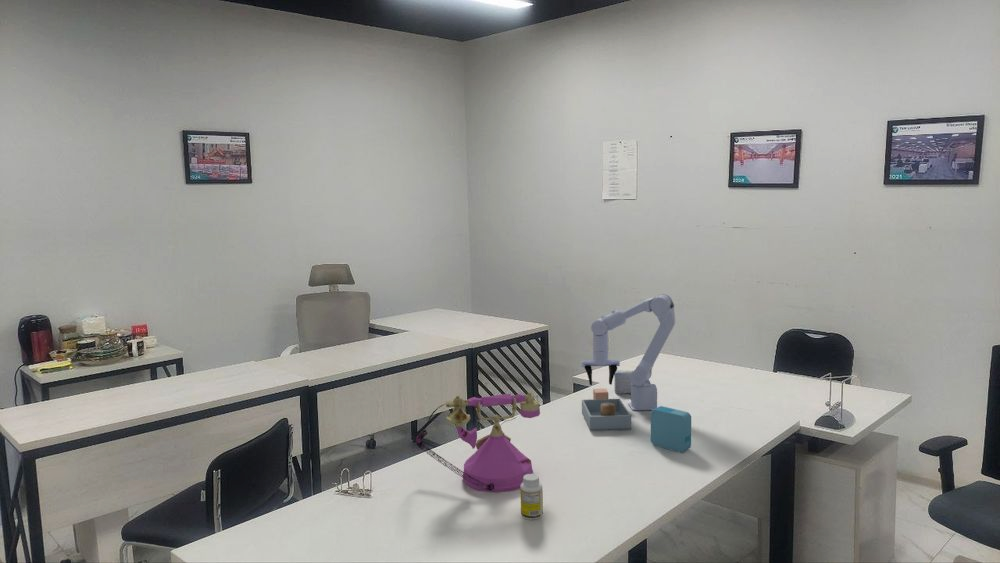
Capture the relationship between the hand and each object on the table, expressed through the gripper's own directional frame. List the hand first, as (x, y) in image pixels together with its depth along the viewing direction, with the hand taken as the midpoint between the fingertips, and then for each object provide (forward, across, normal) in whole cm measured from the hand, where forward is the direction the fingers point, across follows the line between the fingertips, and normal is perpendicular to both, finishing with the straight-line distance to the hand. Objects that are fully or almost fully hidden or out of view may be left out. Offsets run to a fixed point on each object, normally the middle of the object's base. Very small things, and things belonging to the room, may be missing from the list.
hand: (600, 384), depth 249 cm
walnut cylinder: (+7, +2, +26) cm, 27 cm away
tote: (+7, +2, +21) cm, 22 cm away
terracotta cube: (+8, 0, 0) cm, 8 cm away
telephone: (+8, +46, +67) cm, 82 cm away
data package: (+8, -14, +47) cm, 50 cm away
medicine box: (+8, -12, -13) cm, 19 cm away
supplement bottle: (+8, +33, +89) cm, 95 cm away
